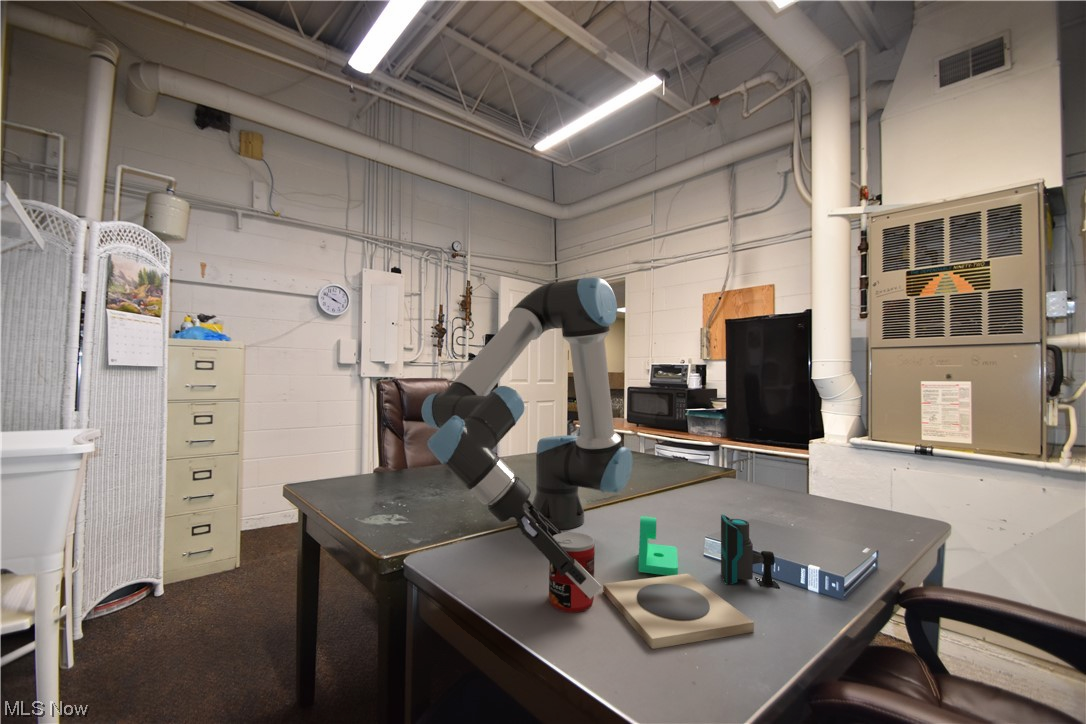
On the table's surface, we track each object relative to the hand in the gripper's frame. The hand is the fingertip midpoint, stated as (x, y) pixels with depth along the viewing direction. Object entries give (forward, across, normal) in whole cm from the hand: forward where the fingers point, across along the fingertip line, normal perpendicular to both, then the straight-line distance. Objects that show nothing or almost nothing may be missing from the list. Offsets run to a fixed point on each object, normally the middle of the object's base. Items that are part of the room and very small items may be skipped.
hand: (590, 580), depth 81 cm
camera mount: (+15, -13, +10) cm, 22 cm away
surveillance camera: (+26, -5, +21) cm, 34 cm away
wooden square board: (+12, +4, +7) cm, 15 cm away
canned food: (0, 0, -5) cm, 5 cm away
